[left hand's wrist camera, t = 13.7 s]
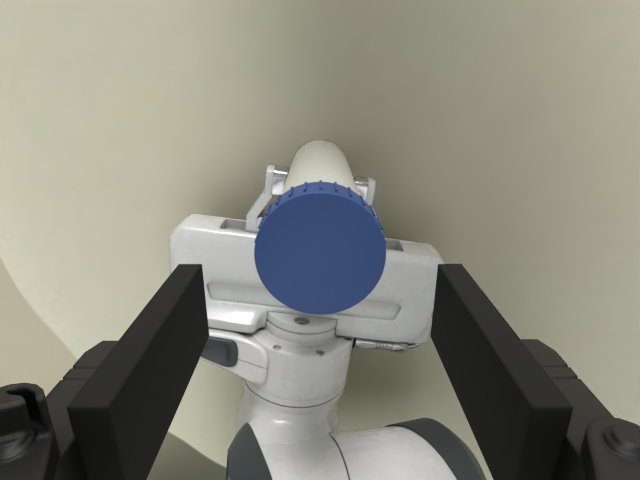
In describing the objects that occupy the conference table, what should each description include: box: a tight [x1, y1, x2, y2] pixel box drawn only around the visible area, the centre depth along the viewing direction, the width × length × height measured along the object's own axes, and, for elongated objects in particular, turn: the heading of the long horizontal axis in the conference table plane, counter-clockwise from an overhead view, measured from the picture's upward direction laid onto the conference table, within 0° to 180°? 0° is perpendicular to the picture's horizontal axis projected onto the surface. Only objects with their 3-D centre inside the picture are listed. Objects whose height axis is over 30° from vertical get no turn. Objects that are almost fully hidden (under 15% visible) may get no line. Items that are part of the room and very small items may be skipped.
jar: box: [281, 140, 360, 196], centre depth 27 cm, size 5×5×19 cm
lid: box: [254, 180, 386, 315], centre depth 19 cm, size 6×6×2 cm
